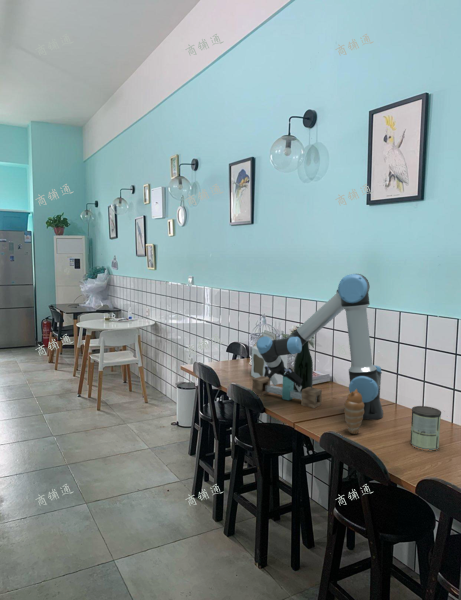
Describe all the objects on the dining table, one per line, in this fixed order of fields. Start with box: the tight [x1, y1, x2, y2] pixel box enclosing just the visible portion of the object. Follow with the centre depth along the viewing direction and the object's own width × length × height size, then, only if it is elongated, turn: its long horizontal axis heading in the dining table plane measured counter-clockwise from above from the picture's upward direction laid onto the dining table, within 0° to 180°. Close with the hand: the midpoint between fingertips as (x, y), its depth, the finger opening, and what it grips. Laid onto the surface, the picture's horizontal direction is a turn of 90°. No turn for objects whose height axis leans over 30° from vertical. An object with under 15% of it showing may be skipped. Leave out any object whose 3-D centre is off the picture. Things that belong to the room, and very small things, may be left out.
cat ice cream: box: [343, 389, 364, 435], centre depth 187 cm, size 9×8×18 cm
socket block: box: [251, 376, 271, 397], centre depth 241 cm, size 5×9×8 cm, turn 143°
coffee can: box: [409, 405, 442, 450], centre depth 176 cm, size 10×10×14 cm
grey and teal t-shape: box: [265, 374, 317, 402], centre depth 231 cm, size 28×4×13 cm, turn 53°
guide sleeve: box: [300, 386, 323, 409], centre depth 224 cm, size 7×7×8 cm
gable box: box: [250, 329, 289, 385], centre depth 269 cm, size 22×13×28 cm, turn 19°
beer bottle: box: [292, 340, 314, 392], centre depth 246 cm, size 10×10×33 cm
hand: (288, 386), depth 233 cm, fingers open, 13 cm apart
